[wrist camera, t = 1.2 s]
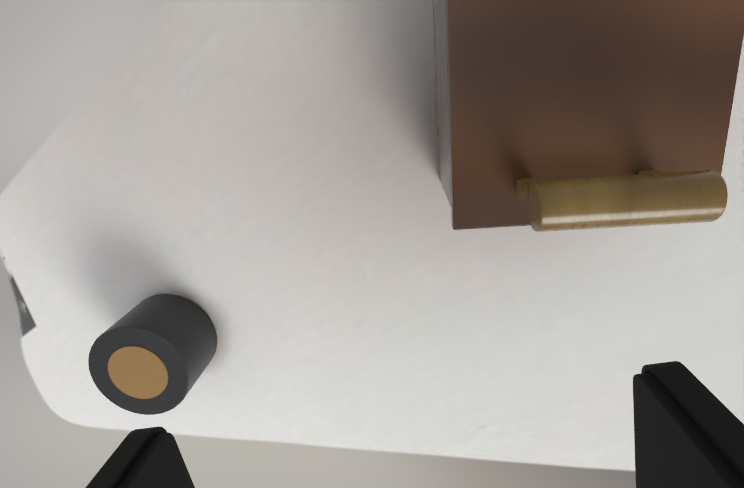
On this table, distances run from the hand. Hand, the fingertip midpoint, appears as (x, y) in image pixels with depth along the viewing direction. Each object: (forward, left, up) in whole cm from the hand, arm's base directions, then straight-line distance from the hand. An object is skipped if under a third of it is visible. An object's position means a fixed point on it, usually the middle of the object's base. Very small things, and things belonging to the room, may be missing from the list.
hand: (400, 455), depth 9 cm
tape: (-9, -17, -20) cm, 28 cm away
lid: (+2, +11, -13) cm, 17 cm away
